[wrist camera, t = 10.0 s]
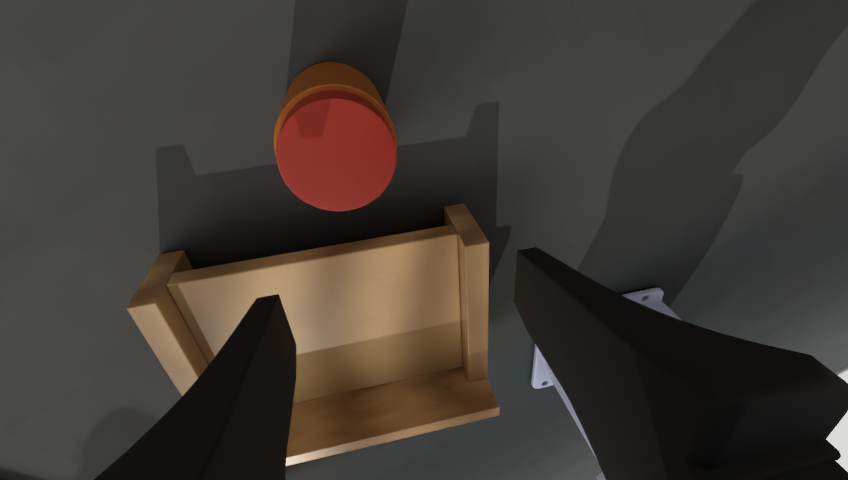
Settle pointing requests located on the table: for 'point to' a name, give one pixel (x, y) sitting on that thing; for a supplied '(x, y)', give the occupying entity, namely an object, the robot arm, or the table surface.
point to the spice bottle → (335, 138)
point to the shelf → (346, 330)
